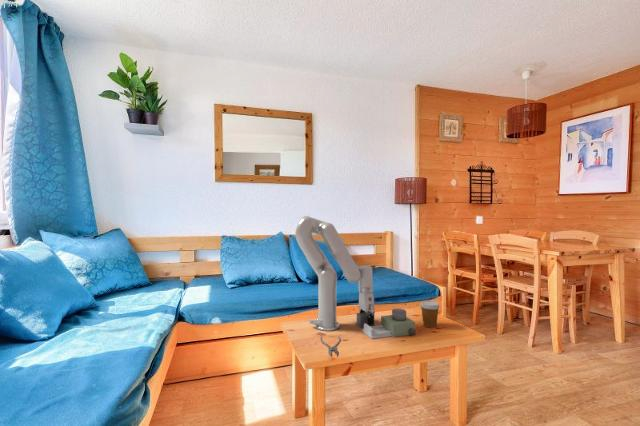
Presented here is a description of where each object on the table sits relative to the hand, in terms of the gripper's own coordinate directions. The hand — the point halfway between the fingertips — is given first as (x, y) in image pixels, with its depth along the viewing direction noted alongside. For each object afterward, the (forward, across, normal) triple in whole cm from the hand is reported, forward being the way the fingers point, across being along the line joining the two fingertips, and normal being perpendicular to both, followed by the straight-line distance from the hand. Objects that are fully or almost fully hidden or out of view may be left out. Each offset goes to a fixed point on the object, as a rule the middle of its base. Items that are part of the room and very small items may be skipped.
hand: (366, 321), depth 159 cm
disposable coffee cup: (+3, -11, -31) cm, 33 cm away
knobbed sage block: (+2, -12, -6) cm, 13 cm away
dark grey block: (+2, 0, +1) cm, 2 cm away
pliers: (+2, -18, +25) cm, 31 cm away
